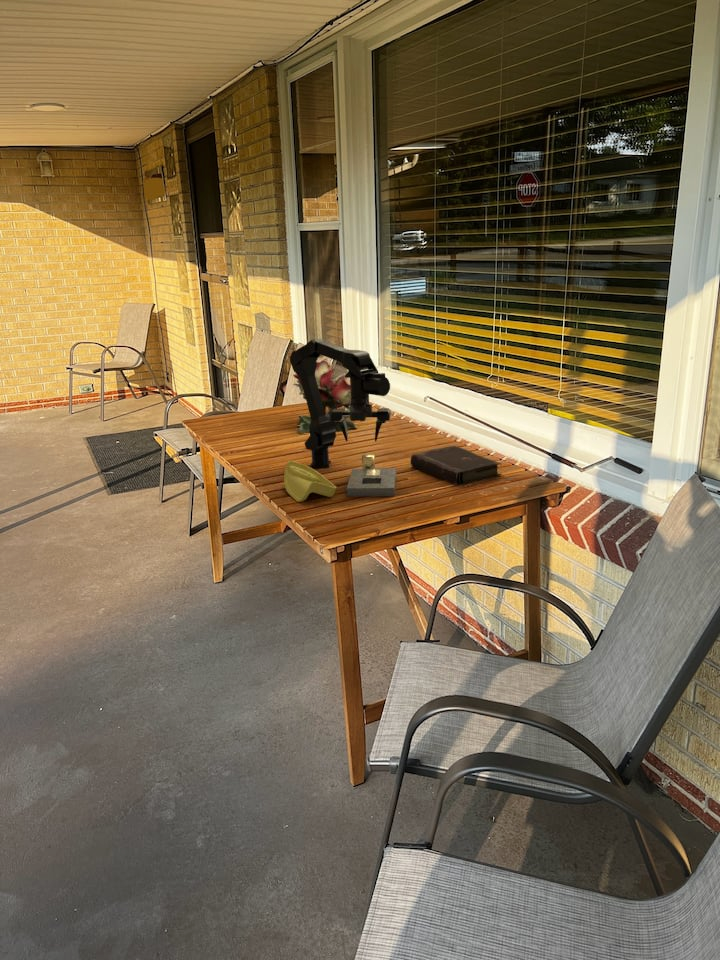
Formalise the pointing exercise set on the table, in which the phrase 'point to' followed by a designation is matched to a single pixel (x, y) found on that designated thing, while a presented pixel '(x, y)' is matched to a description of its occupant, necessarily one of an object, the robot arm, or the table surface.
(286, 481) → the plastic component
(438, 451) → the diary
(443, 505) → the table surface
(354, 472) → the flange plate
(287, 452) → the table surface
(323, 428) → the robot arm
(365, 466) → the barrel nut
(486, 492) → the table surface
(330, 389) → the rose bouquet
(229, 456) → the table surface
